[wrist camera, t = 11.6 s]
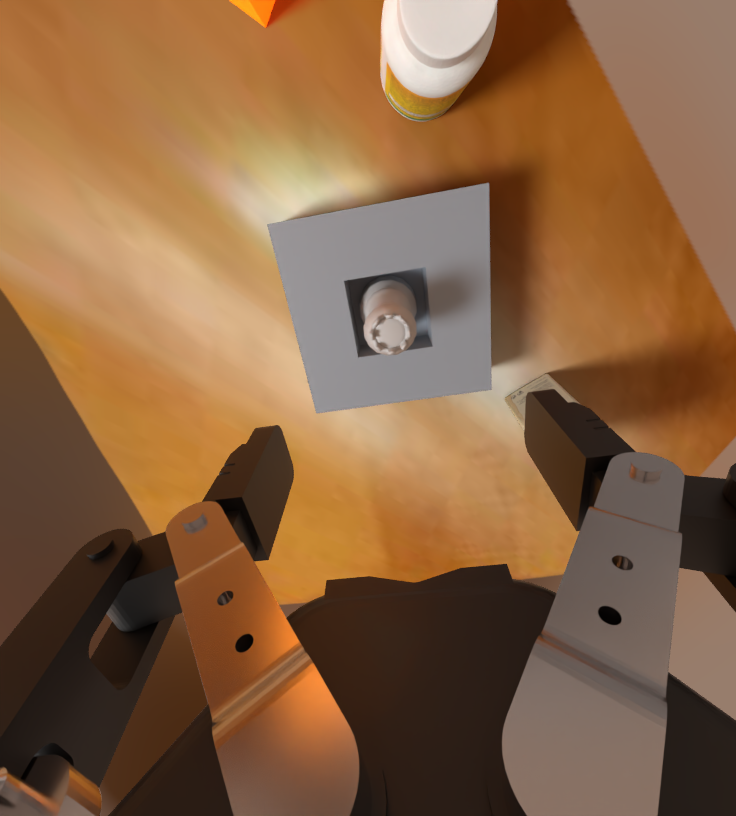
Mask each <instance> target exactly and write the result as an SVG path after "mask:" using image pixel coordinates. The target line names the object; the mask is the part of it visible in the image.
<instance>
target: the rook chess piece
mask: <svg viewBox="0 0 736 816" xmlns="http://www.w3.org/2000/svg"><path fill="white" fill-rule="evenodd" d="M359 308H360V317H361V319H362V320H363V322H364V327H363V328H364V337H365V339H366V341H367V343H368V345H369V347H371V348H372V349H373V350H374V351H376V352H377V353H380V354H383V355H387V356H388V355H397V354H399V353H402V352H404V351H406V350H407V349H408V348H409V347H410V346H411V344H412V343H413V342H414V339H415V336H416V334H417V329H416V321H415V319H414V318H415V315H416V312H417V303H416V296H415V294H414V291H413V289H412V287H411V286H410V285H409V284H408V283H407V282H405V281H404V280H403V279H401V278H398V277H395V276H392V275H391V276H380V277H378V278H376V279H374V280H373V281H371V282H369V283H368V285H367V286H366V287H365V288H364V290H363V291H362V294H361V297H360V301H359Z"/></svg>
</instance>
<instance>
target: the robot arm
mask: <svg viewBox="0 0 736 816" xmlns="http://www.w3.org/2000/svg"><path fill="white" fill-rule="evenodd" d="M524 437H525V444H526V448H527V451H528V453H529V455H530V457H531V458H532V460H533V461H534V463H535V465H536V466H537V468H538V470H539V471H540V473H541V474H542V476H543V478H544V479H545V481H546V482H547V484H548V486H549V487H550V489H551V491H552V492H553V494H554V495H555V497H556V499H557V500H558V502H559V504H560V505H561V507H562V508H563V510H564V512H565V513H566V515H567V516H568V518H569V520H570V521H571V523H572V525H573V526H574V528H575V529H576V531H580V532H579V535H578V538H577V540H576V543H575V546H574V548H573V551H572V554H571V556H570V559H569V562H568V564H567V567H566V570H565V572H564V575H563V578H562V580H561V583H560V586H559V589H558V591H557V593H555V592H553V591H550V590H548V589H546V588H544V587H541V586H538V585H535V584H532V583H529V582H525V581H521V580H516V579H512V577H511V574H510V572H509V569H508V566H507V564H501V565H490V566H478V567H467V568H460V569H457V570H454V571H451V572H448V573H445V574H442V575H439V576H436V577H433V578H430V579H427V580H424V581H421V582H416V583H411V582H404V581H397V580H390V579H384V578H377V577H370V576H368V577H357V578H346V579H335V580H327V581H326V589H325V595H324V596H322V597H319V598H317V599H314V600H312V601H310V602H308V603H307V604H305V605H303V606H302V607H300V608H298V609H297V610H296V611H295V612H293V613H292V614H290V615H289V616H288V617H287V618H286V617H285V615H284V614H283V612H282V610H281V608H280V606H279V605H278V603H277V601H276V599H275V598H274V596H273V594H272V592H271V591H270V589H269V587H268V585H267V584H266V582H265V580H264V578H263V577H262V575H261V573H260V571H259V569H258V568H257V566H256V564H255V562H254V561H262V560H269V556H270V553H271V550H272V547H273V544H274V540H275V537H276V534H277V531H278V528H279V524H280V521H281V518H282V515H283V512H284V508H285V505H286V502H287V499H288V495H289V492H290V489H291V486H292V483H293V478H294V470H293V464H292V460H291V457H290V454H289V451H288V448H287V445H286V442H285V438H284V435H283V432H282V430H281V428H280V426H278V425H275V426H268V427H260V428H256V429H255V430H254V431H253V433H252V435H251V436H250V438H249V440H248V442H247V444H242V445H241V446H240V447H238V448H237V449H236V450H235V451H234V452H233V453H231V454H230V456H229V458H228V459H227V461H226V463H225V464H224V467H223V468H222V469H221V471H220V473H219V475H218V476H217V478H216V479H215V481H214V483H213V484H212V486H211V488H210V489H209V491H208V493H207V494H206V496H205V498H204V499H203V501H202V502H200V503H196V504H193V505H191V506H189V507H187V508H185V509H184V510H182V511H181V512H179V513H178V514H177V515H176V516H175V517H173V518H172V520H171V521H170V522H169V524H168V525H167V528H166V532H163V533H160V534H157V535H154V536H151V537H149V538H145V539H142V540H140V541H137V540H136V538H135V537H134V535H133V534H132V532H131V531H130V530H127V529H116V530H112V531H109V532H107V533H104V534H102V535H100V536H98V537H96V538H94V539H93V540H91V541H90V542H88V543H87V544H86V545H84V546H83V547H82V548H81V549H80V550H79V551H78V552H77V553H76V554H75V555H74V556H73V558H72V559H71V560H70V561H69V563H68V564H67V565H66V566H65V567H64V569H63V570H62V571H61V572H60V574H59V575H58V576H57V577H56V579H55V580H54V581H53V582H52V583H51V585H50V586H49V587H48V588H47V590H46V591H45V592H44V593H43V594H42V596H41V597H40V598H39V599H38V601H37V602H36V603H35V604H34V606H33V607H32V608H31V609H30V611H29V612H28V613H27V614H26V615H25V617H24V618H23V619H22V620H21V621H20V623H19V624H18V625H17V626H16V628H15V629H14V630H13V631H12V633H11V634H10V635H9V636H8V637H7V639H6V640H5V641H4V642H3V644H2V645H1V646H0V816H100V813H101V806H102V799H101V793H100V790H99V787H100V784H101V782H102V780H103V778H104V775H105V773H106V771H107V769H108V766H109V764H110V762H111V760H112V757H113V755H114V752H115V750H116V748H117V746H118V744H119V741H120V739H121V737H122V735H123V732H124V730H125V728H126V725H127V723H128V721H129V719H130V717H131V714H132V712H133V710H134V707H135V705H136V703H137V701H138V698H139V696H140V694H141V692H142V689H143V687H144V685H145V683H146V680H147V678H148V676H149V673H150V671H151V669H152V667H153V664H154V662H155V660H156V658H157V655H158V653H159V651H160V649H161V646H162V644H163V642H164V639H165V637H166V635H167V633H168V631H169V628H170V626H171V624H172V621H173V619H174V617H175V615H176V614H179V613H182V612H183V616H184V619H185V623H186V626H187V630H188V633H189V637H190V640H191V644H192V648H193V651H194V655H195V658H196V662H197V665H198V669H199V673H200V676H201V680H202V683H203V687H204V690H205V694H206V697H207V701H208V705H207V706H206V707H205V708H204V709H203V711H202V712H201V713H200V714H199V715H198V716H197V717H196V718H195V719H194V721H193V722H192V723H191V724H190V725H189V726H188V727H187V728H186V730H185V731H184V732H183V733H182V734H181V735H180V736H179V737H178V738H177V740H176V741H175V742H174V743H173V744H172V745H171V746H170V747H169V748H168V750H167V751H166V752H165V753H164V754H163V755H162V756H161V757H160V758H159V760H158V761H157V762H156V763H155V764H154V765H153V766H152V767H151V769H150V770H149V771H148V772H147V773H146V774H145V775H144V776H143V777H142V779H141V780H140V781H139V782H138V783H137V784H136V785H135V786H134V788H133V789H132V790H131V791H130V792H129V793H128V794H127V796H125V798H124V799H123V800H122V801H121V802H120V803H119V804H118V805H117V807H116V808H115V809H114V810H113V811H112V812H111V813H110V814H109V815H108V816H736V720H734V719H733V718H731V717H730V716H729V715H727V714H726V713H724V712H723V711H722V710H720V709H719V708H717V707H716V706H715V705H713V704H712V703H711V702H709V701H708V700H706V699H705V698H704V697H702V696H701V695H699V694H698V693H697V692H695V691H694V690H693V689H691V688H690V687H688V686H687V685H686V684H684V683H683V682H681V681H680V680H679V679H677V678H676V677H674V676H673V675H671V674H670V673H669V672H668V668H669V658H670V649H671V639H672V630H673V619H674V611H675V602H676V592H677V583H678V573H679V568H684V569H690V570H696V571H702V572H703V573H704V574H705V575H706V576H707V577H708V579H709V580H710V581H711V582H712V584H713V585H714V586H715V587H716V589H717V590H718V591H719V592H720V593H721V595H722V596H723V597H724V598H725V600H726V601H727V602H728V603H729V605H730V606H731V607H732V608H733V609H734V611H735V612H736V464H734V465H732V466H731V468H730V470H729V472H728V475H727V478H726V479H720V478H708V477H697V476H687V475H684V474H683V472H682V470H681V469H680V468H679V467H678V466H677V465H675V464H674V463H672V462H670V461H669V460H667V459H664V458H662V457H659V456H656V455H652V454H647V453H640V452H635V451H634V450H633V449H632V448H631V447H630V446H629V445H628V444H627V443H626V442H625V441H624V440H623V439H622V438H620V437H619V436H618V435H617V434H616V433H615V432H614V431H613V430H612V429H611V428H609V427H608V425H607V424H606V423H604V422H603V421H602V420H600V418H599V417H598V416H597V415H596V414H595V413H594V412H593V411H592V410H591V409H589V408H587V407H585V406H582V405H580V404H578V403H576V402H569V403H568V402H567V401H566V400H565V399H564V398H563V397H562V396H561V395H560V394H559V393H558V392H557V391H556V390H555V389H548V390H540V391H533V392H528V393H527V395H526V404H525V432H524ZM106 614H107V615H108V616H109V618H110V619H111V620H112V623H111V625H110V627H109V628H108V630H107V632H106V633H105V635H104V637H103V638H102V640H101V642H100V643H99V645H98V647H97V649H96V650H95V652H94V654H93V655H92V657H91V659H90V658H89V652H88V651H89V644H90V641H91V638H92V636H93V634H94V632H95V631H96V629H97V627H98V626H99V624H100V623H101V621H102V619H103V618H104V616H105V615H106Z"/></svg>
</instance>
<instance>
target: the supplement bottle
mask: <svg viewBox="0 0 736 816" xmlns="http://www.w3.org/2000/svg"><path fill="white" fill-rule="evenodd" d="M497 1H498V0H384V5H383V11H382V21H381V53H380V75H381V81H382V86H383V89H384V92H385V95H386V97H387V99H388V101H389V102H390V104H391V105H392V106H393V108H394V109H395V110H396V111H397V112H399V113H400V114H401V115H402V116H404V117H406V118H408V119H410V120H413V121H421V122H422V121H429V120H432V119H435V118H437V117H439V116H441V115H442V114H444V113H445V112H446V111H447V110H448V109H449V108H450V107H451V106H452V105H453V104H454V102H455V101H456V100H457V98H458V97H459V96H460V94H461V93H462V92H463V90H464V89H465V88H466V86H467V85H468V84H469V83H470V81H471V80H472V78H473V77H474V76H475V74H476V73H477V72H478V70H479V69H480V67H481V66H482V64H483V63H484V61H485V59H486V56H487V54H488V52H489V49H490V47H491V44H492V41H493V37H494V33H495V27H496V20H497Z"/></svg>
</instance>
